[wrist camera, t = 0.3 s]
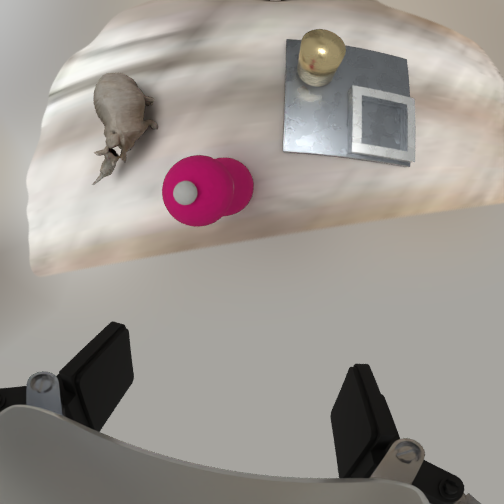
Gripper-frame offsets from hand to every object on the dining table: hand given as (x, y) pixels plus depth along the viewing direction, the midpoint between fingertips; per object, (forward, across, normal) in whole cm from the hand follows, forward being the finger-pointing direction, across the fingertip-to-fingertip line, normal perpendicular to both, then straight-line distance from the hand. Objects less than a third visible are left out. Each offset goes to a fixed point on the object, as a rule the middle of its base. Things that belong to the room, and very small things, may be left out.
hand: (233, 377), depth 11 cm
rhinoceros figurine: (+30, +22, -14) cm, 40 cm away
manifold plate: (+30, -9, -21) cm, 38 cm away
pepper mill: (+30, +6, -6) cm, 31 cm away
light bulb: (+28, -4, -24) cm, 37 cm away
